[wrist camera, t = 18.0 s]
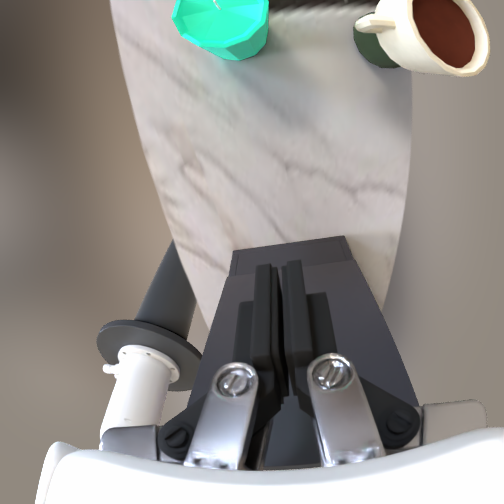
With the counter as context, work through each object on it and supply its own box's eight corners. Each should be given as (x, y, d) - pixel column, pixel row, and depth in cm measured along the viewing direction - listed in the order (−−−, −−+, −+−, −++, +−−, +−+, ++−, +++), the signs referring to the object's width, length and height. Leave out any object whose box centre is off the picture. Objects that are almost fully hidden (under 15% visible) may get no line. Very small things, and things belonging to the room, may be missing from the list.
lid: (426, 443, 10) (430, 437, 9) (175, 464, 12) (170, 459, 11) (355, 265, 28) (355, 259, 28) (228, 282, 30) (227, 276, 30)
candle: (243, -3, 18) (226, -52, 8) (281, 39, 20) (291, 9, 11) (193, 31, 20) (144, 4, 10) (230, 72, 23) (203, 65, 13)
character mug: (417, 15, 16) (495, 0, 6) (428, 74, 20) (512, 88, 10) (321, 9, 18) (361, -37, 7) (335, 73, 22) (389, 70, 11)
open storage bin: (342, 336, 43) (347, 361, 39) (261, 346, 45) (260, 371, 41) (344, 235, 32) (354, 260, 28) (232, 250, 34) (228, 277, 30)
